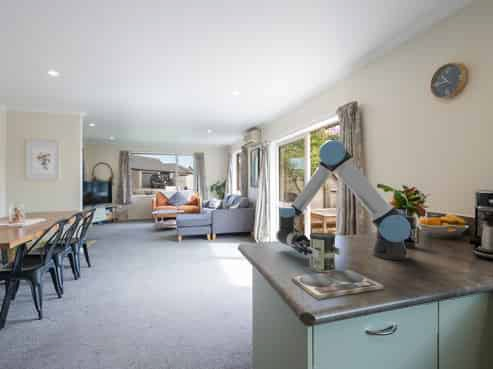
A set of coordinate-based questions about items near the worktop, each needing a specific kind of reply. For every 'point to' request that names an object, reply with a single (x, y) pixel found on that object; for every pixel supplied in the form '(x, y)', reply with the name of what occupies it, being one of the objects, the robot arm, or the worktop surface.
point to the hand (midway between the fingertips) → (329, 252)
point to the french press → (409, 242)
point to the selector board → (335, 283)
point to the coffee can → (323, 252)
